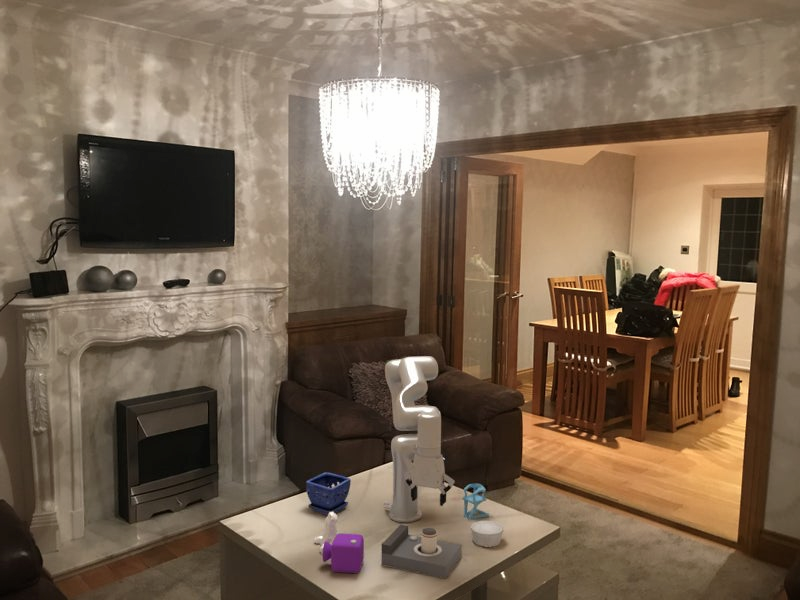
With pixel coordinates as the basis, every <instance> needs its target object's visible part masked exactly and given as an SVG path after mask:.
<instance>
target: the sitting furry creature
mask: <svg viewBox="0 0 800 600" xmlns="http://www.w3.org/2000/svg"><path fill="white" fill-rule="evenodd" d="M338 518H339V517H338V515H337V514H336V513H334V512H329V514H328V515H327V517H326V518H325V520H324V528H323V531H322V532H323V533H322V534H323V535H318V536H315V537H314V544H315V543H316V544H317V545H320V547H319V553H320V552H321V550H322V548H323V546H324V543H325V541H327V542H329V543H330V544H331V545H332V543H333V541H334V539H335V537H336V535H337V534H340V533H339V532H338V529H337V525H336V524H338Z"/></svg>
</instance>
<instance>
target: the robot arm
mask: <svg viewBox="0 0 800 600" xmlns="http://www.w3.org/2000/svg"><path fill="white" fill-rule="evenodd" d="M438 365H439V364H438V362H437V360H436V359H435V358H434V357H433V356H429V355H428V356H427V355H424V356H422V355H421V356H406V357H404V358H401V359H399V358H398V359H392V360H389V361H388V362H386V364H385V367H384V375H385V380H386V381H385V382H386V383H387V386H388V388H389V390H390V391H389V392H390V395H391V405H392V420H393V421H392V422H393V427H394V428H395V429H396V430H397V431H402V432H404V431H405V432H406V431H417V433H408V434H400V435H399V434H398V435H396V436H394V437H393V438H392V440H391V444H390V450H391V457H392V471H393V472H392V493H393V494H392V501H391V502H390V501H388V500H387V501H386V500H384V501H383V509H387V510H389V512H388V517H389V519H391V520H392V521H394V522H398V523H414V522H416V521H419V520H421V518H422V516H423V512H422V511H421V510H420V509H419V487H423V488H430V489H438V490H439V491H440V494H439V506H440V507H443V505H445V504H446V502H447V493H448V491H450V490H451V489H452V487H453V486H454V484H455V480H454V479H453V477H450V476H449V475H448V474H446V472H445V471H446V470H445V462H444V457H443V454H442V453H441V450H442V449H441V447H442V444H441V443H442V442H441V441H442V415H441V411H440V410H439V408H437V406H432V405H428V404H415V401H417V400H419V399H421V398H422V397H424V396H425V395H426V393H427V392H428V388H429V387H428V383H427V381H432V380H435V379H436V378H437V377H438V374H439V366H438ZM412 461H413V462H412ZM445 481H446V482H447V483H448V484H447V485H445Z"/></svg>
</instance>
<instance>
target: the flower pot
mask: <svg viewBox="0 0 800 600" xmlns="http://www.w3.org/2000/svg"><path fill="white" fill-rule="evenodd" d="M351 482H352V480H351V478H349V477H346V476H343V475H340V474H336V473H332V472H323V473H321V474H318V475H317V476H314V477H313V478H310V479H308V480H306V481H305V489H306V490H305V491H306V494H307V497H308V499H309V502H310V504H309V503H308V508H309V509H310V510H312V511H314V512H317V513H321V514H324V515H327V516H328V514H329V512H334V513H335V514H336V513H337V512H340V511H341V510H343V509H344V508H346V507H347V506H348V505H349V502H348V501H346V500H347V498H348V496H349V492H350V489H351ZM333 485H334V486H333Z"/></svg>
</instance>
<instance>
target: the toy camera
mask: <svg viewBox="0 0 800 600" xmlns="http://www.w3.org/2000/svg"><path fill="white" fill-rule="evenodd" d="M364 547H365V541H364V535H362V534H357V533H345V532H344V533H339V534H337V535H336V537H335V539H334V541H333V543H332V545H331V544H330V543H329V542H327V541H325V543H324V546H323V548H322V550H321V553H320V555H321V556H322V561H323V563H325V562H328V561H329V560H330V568H331V570H332V572H334V573H335V572H336V573H348V574H349V573H352V574H356V573H359V572H360V570H361V569H362V565H363V563H364V557H365V554H364V553H365V552H364Z"/></svg>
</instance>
